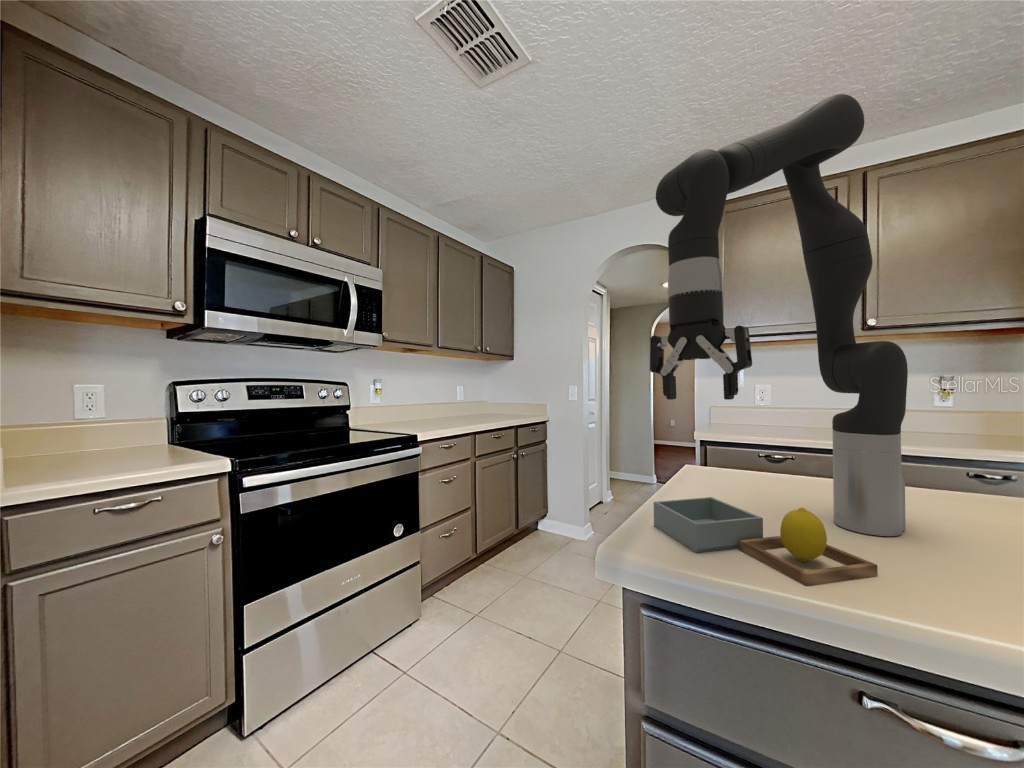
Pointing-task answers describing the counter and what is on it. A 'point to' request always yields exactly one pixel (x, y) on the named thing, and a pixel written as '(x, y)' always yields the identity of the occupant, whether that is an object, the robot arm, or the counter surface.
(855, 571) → the tray
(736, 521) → the bin
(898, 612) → the counter surface
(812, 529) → the lemon
